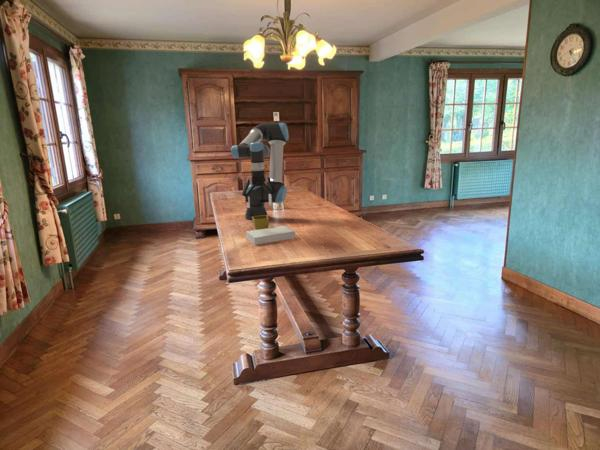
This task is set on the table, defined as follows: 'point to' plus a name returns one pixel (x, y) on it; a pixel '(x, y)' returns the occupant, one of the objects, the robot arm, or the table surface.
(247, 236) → the white stand
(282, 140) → the robot arm
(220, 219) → the table surface
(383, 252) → the table surface
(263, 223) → the flower pot
